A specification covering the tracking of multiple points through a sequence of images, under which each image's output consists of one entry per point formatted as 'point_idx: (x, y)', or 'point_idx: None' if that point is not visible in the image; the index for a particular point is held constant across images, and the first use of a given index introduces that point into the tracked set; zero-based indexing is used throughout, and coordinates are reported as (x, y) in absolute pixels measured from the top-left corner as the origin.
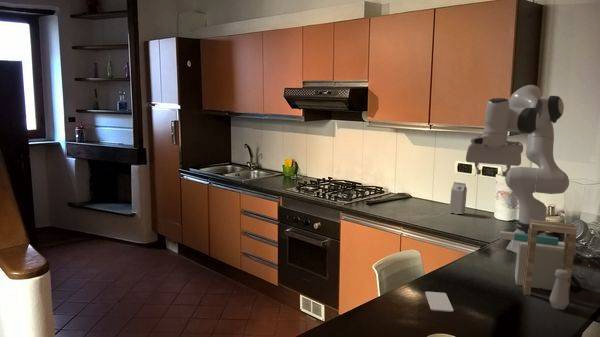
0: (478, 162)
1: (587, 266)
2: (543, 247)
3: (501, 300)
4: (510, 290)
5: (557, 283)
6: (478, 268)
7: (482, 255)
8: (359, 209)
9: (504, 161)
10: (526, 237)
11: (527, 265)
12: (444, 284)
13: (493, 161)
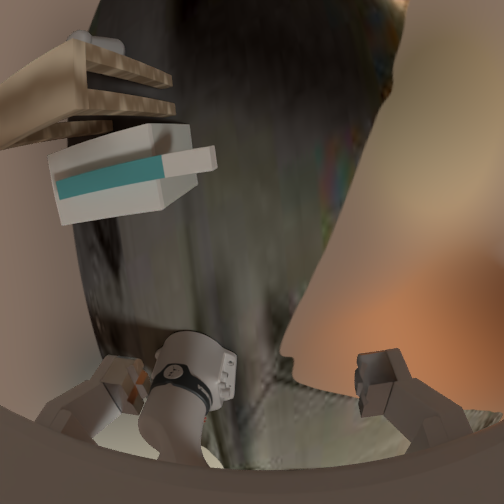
0: (445, 447)
1: (98, 317)
2: (94, 139)
3: (213, 18)
4: (198, 81)
5: (95, 37)
6: (283, 192)
7: (282, 296)
8: (480, 416)
9: (48, 466)
10: (129, 161)
11: (142, 63)
12: (341, 43)
13: (192, 499)
